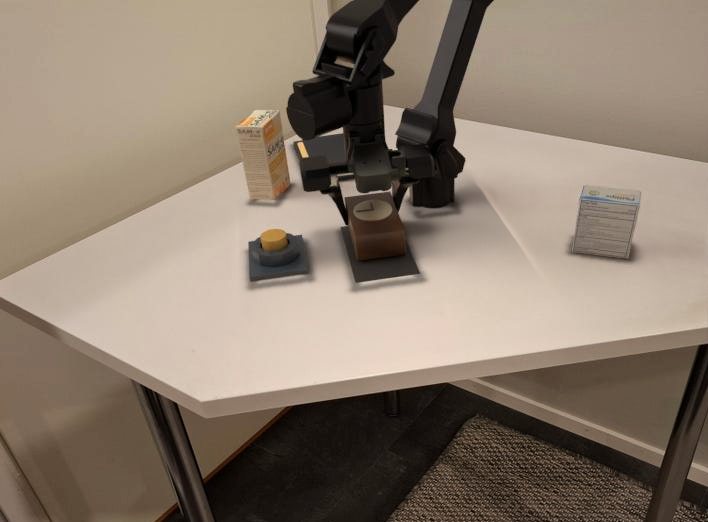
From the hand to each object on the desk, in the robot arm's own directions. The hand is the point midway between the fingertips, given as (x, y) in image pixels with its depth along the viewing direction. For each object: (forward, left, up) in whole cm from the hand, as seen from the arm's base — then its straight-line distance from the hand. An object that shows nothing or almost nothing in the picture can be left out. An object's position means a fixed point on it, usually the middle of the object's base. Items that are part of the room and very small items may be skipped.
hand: (370, 220), depth 95 cm
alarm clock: (0, +4, -1) cm, 4 cm away
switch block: (+14, +5, -3) cm, 15 cm away
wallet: (+1, -31, -3) cm, 31 cm away
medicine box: (-32, +13, -3) cm, 34 cm away
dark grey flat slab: (0, +6, -2) cm, 6 cm away
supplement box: (+14, -19, -3) cm, 24 cm away
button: (+14, +5, +1) cm, 15 cm away
